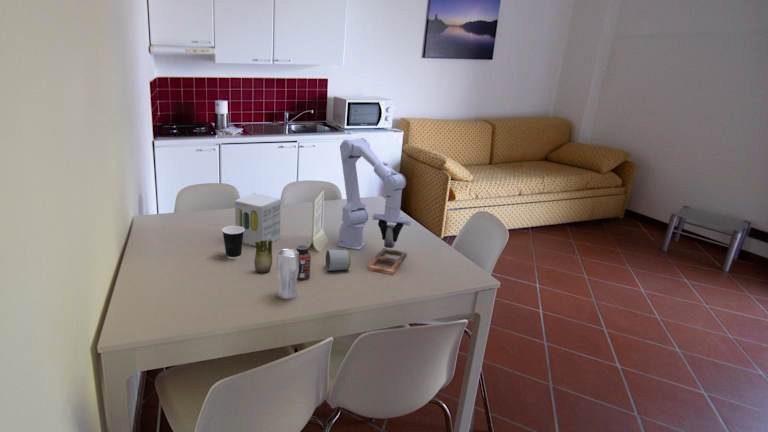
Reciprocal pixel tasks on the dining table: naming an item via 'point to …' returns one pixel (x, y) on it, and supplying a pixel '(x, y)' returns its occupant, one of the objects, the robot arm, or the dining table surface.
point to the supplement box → (258, 218)
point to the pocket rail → (387, 261)
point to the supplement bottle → (303, 262)
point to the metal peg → (389, 236)
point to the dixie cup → (233, 241)
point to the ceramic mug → (337, 260)
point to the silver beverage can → (287, 272)
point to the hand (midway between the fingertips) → (389, 240)
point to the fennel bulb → (263, 256)
